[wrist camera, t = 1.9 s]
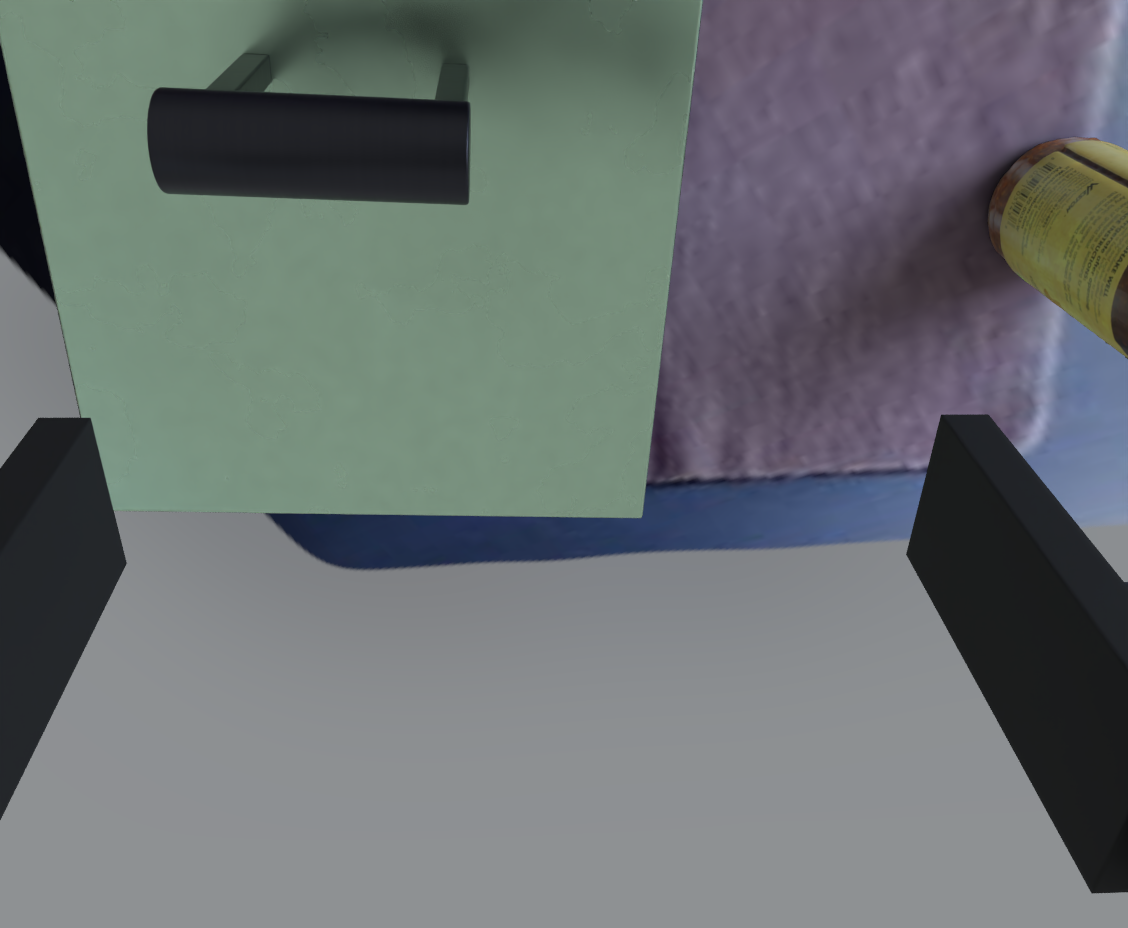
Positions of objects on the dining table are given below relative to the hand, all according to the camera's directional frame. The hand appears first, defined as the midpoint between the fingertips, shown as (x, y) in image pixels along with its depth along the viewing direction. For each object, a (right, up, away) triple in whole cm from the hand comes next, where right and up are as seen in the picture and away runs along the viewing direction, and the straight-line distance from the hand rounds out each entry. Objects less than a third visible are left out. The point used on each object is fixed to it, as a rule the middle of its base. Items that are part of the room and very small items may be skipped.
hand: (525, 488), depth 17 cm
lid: (-5, +6, +14) cm, 16 cm away
